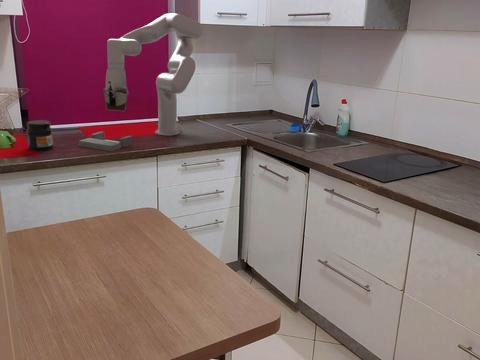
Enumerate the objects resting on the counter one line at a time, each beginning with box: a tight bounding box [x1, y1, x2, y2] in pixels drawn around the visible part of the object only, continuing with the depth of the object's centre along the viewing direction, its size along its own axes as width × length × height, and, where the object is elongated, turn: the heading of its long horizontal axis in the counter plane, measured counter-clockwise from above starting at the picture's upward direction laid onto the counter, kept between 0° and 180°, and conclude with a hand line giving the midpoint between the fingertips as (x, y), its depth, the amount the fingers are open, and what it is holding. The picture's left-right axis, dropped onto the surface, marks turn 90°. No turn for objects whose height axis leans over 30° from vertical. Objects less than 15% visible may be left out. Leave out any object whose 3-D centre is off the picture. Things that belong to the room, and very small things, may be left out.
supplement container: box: [26, 119, 54, 152], centre depth 213 cm, size 10×10×12 cm
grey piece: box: [78, 131, 133, 152], centre depth 224 cm, size 16×18×4 cm
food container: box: [102, 87, 129, 112], centre depth 227 cm, size 12×6×10 cm, turn 81°
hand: (117, 104), depth 227 cm, fingers closed on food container, 5 cm apart
